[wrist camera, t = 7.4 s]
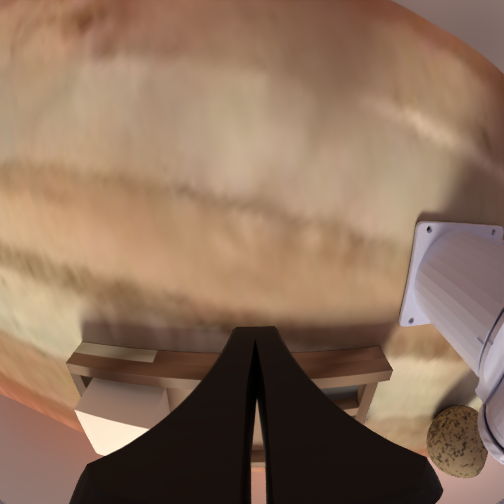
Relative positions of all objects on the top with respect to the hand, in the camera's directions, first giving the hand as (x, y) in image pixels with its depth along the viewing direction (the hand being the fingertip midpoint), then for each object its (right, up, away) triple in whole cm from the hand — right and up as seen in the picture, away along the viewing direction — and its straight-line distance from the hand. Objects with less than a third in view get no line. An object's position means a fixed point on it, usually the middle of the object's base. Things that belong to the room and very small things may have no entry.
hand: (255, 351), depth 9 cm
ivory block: (-10, -9, +11) cm, 18 cm away
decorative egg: (+22, -15, +15) cm, 31 cm away
